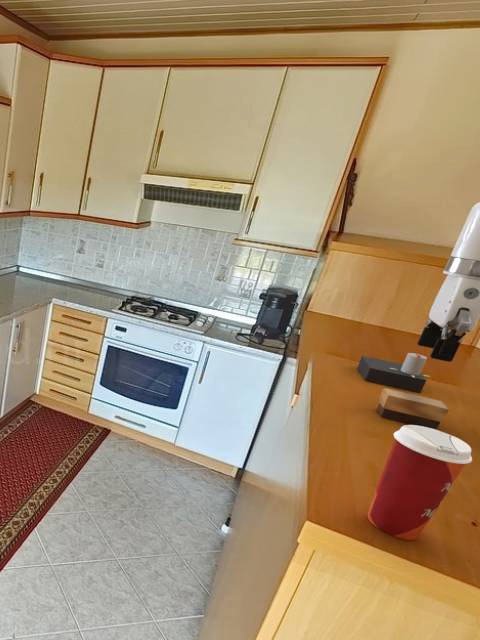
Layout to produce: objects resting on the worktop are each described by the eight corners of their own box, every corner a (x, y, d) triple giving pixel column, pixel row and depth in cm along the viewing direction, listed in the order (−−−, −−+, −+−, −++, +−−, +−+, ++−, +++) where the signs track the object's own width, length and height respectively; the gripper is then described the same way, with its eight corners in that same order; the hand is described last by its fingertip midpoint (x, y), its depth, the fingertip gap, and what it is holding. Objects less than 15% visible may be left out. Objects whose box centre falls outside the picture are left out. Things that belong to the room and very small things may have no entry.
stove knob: (398, 368, 122) (406, 350, 120) (417, 372, 120) (425, 354, 118) (402, 372, 119) (410, 354, 117) (420, 376, 117) (429, 358, 116)
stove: (415, 380, 125) (421, 367, 124) (428, 395, 116) (435, 381, 115) (357, 367, 131) (362, 355, 129) (365, 381, 121) (370, 367, 120)
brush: (431, 422, 101) (441, 401, 99) (438, 431, 97) (449, 409, 96) (374, 408, 105) (383, 387, 104) (379, 416, 102) (388, 395, 100)
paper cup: (439, 553, 63) (491, 460, 58) (369, 534, 65) (413, 443, 60) (412, 516, 69) (456, 431, 64) (349, 500, 72) (387, 417, 67)
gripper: (518, 279, 84) (472, 370, 90) (481, 267, 98) (444, 346, 104) (461, 271, 87) (420, 360, 93) (434, 261, 101) (400, 338, 108)
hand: (433, 352), depth 99 cm, fingers open, 9 cm apart
